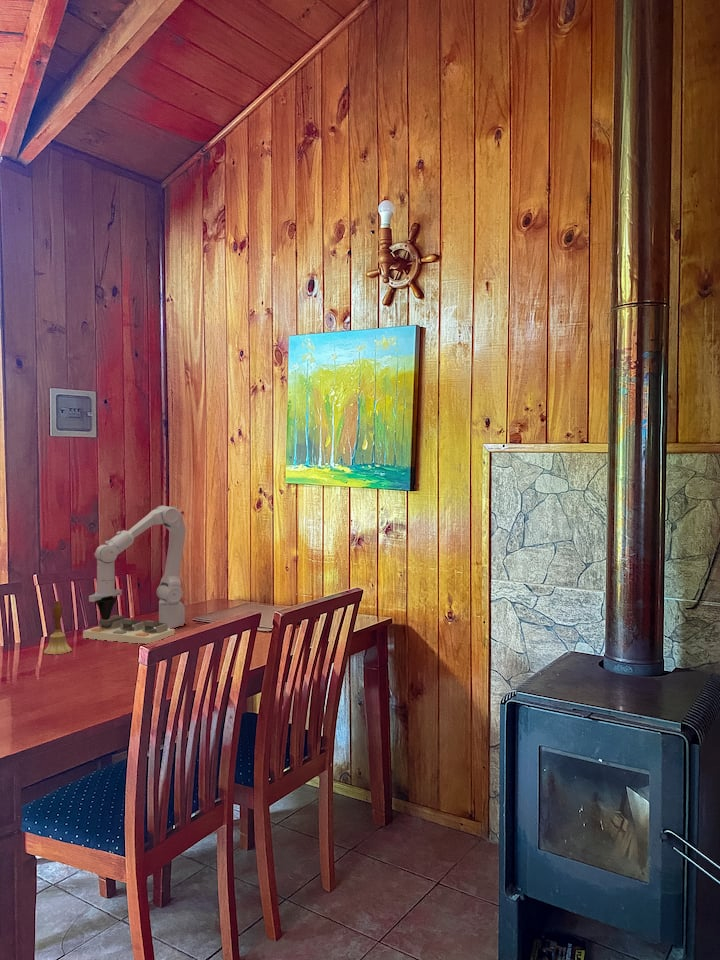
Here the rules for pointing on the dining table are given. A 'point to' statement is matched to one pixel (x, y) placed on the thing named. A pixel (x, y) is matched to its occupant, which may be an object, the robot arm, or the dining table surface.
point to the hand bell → (57, 635)
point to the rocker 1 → (110, 620)
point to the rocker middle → (130, 621)
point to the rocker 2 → (152, 623)
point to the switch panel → (129, 632)
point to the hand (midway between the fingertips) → (105, 619)
